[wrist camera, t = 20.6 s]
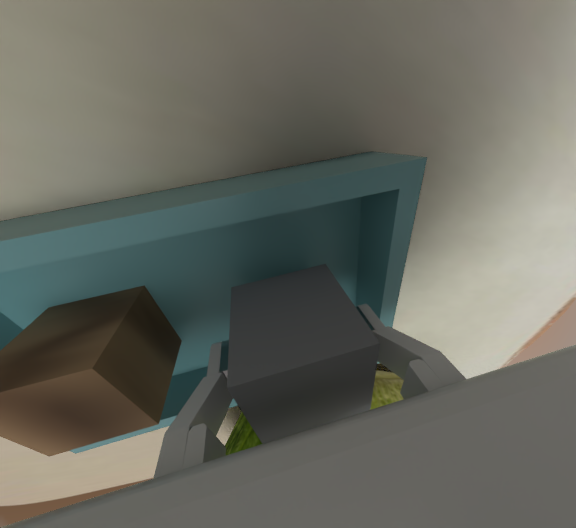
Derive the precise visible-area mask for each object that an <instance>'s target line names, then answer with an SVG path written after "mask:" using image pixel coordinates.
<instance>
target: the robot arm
mask: <svg viewBox="0 0 576 528" xmlns="http://www.w3.org/2000/svg"><path fill="white" fill-rule="evenodd" d="M355 307H356V309H357V310H358V312H359V313H360V314H361V316H362V317H363V319H364V320H365V322H366V323H367V325H368V326H369V327H370V329H371V330H372V332H373V333H374V335H375V336H376V338H377V339H378V341H379V342H380V348H379V355H378V362H380V363H381V364H382V365H384V366H385V367H386V368H388V369H389V370H390V371H392V372H393V373H395V374H396V375H397V376H399V377H400V378H401V379H403V380H404V381H403V385H402V388H401V391H400V394H401V395H402V397H403V398H404V399H403V400H400V401H397V402H393V403H390V404H387V405H384V406H381V407H378V408H375V409H371V410H368V411H365V412H362V413H359V414H356V415H352V416H349V417H346V418H343V419H340V420H337V421H334V422H330V423H327V424H324V425H321V426H318V427H315V428H312V429H308V430H305V431H302V432H299V433H296V434H293V435H289V436H286V437H283V438H280V439H277V440H274V441H271V442H267V443H264V444H261V445H258V446H255V447H252V448H249V449H245V450H242V451H239V452H236V453H233V454H230V455H227V456H226V447H225V446H224V445H223V444H222V443H221V442H220V440H219V439H218V438H217V437H216V435H217V433H218V430H219V428H220V426H221V424H222V422H223V419H224V417H225V415H226V413H227V410H228V408H229V406H230V404H231V402H232V399H233V397H232V395H231V394H230V392H229V391H228V389H227V376H228V353H229V340H226V341H222V342H218V343H214V344H212V345H211V348H210V355H209V363H208V370H207V377H203V379H202V380H201V382H200V383H199V385H198V386H197V388H196V389H195V391H194V392H193V393H192V395H191V396H190V398H189V399H188V401H187V402H186V404H185V405H184V406H183V408H182V409H181V411H180V412H179V414H178V415H177V417H176V418H175V419H174V421H173V422H172V424H171V425H170V427H169V428H168V430H167V431H166V432H165V435H164V439H163V443H162V447H161V451H160V455H159V459H158V463H157V467H156V471H155V475H154V479H151V480H148V481H145V482H142V483H138V484H135V485H132V486H129V487H126V488H123V489H120V490H116V491H114V492H110V493H107V494H104V495H101V496H98V497H94V498H91V499H88V500H85V501H82V502H79V503H76V504H72V505H69V506H66V507H63V508H60V509H57V510H54V511H50V512H47V513H44V514H41V515H38V516H35V517H32V518H28V519H25V520H22V521H19V522H16V523H13V524H10V525H7V526H3V527H0V528H576V345H573V346H570V347H567V348H564V349H561V350H557V351H555V352H551V353H548V354H545V355H542V356H539V357H535V358H532V359H529V360H526V361H523V362H520V363H516V364H513V365H510V366H507V367H504V368H501V369H498V370H494V371H491V372H488V373H485V374H482V375H479V376H475V377H472V378H469V379H466V378H465V377H464V376H463V375H462V374H461V373H460V372H459V371H458V370H457V369H456V368H455V366H454V365H453V364H452V363H451V362H450V361H449V360H448V359H447V358H446V357H445V356H444V355H443V354H442V353H441V352H440V351H438V350H436V349H434V348H432V347H430V346H428V345H426V344H424V343H422V342H420V341H418V340H416V339H414V338H412V337H410V336H407V335H405V334H403V333H401V332H399V331H397V330H395V329H393V328H391V327H389V326H387V327H385V326H384V324H383V323H382V322H381V321H380V319H379V318H378V317H377V315H376V314H375V313H374V312H373V310H372V309H371V308H370V307H369V305H368V304H362V305H358V306H355Z"/></svg>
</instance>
